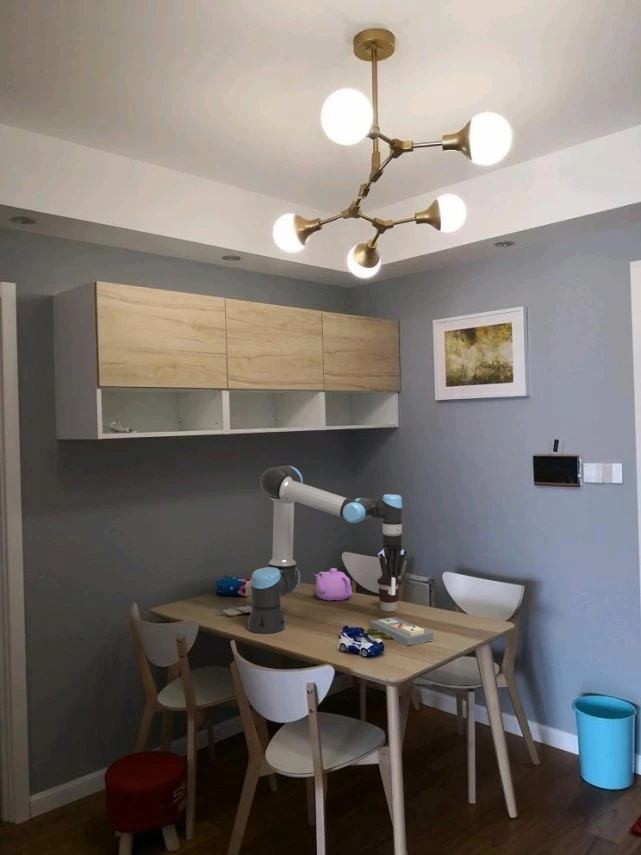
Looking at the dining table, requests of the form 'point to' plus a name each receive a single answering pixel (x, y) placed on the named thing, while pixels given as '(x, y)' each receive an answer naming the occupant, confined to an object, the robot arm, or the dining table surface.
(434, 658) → the dining table surface
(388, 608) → the coffee cup
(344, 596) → the teapot
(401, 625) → the tile three
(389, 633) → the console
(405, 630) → the tile two
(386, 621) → the tile one
